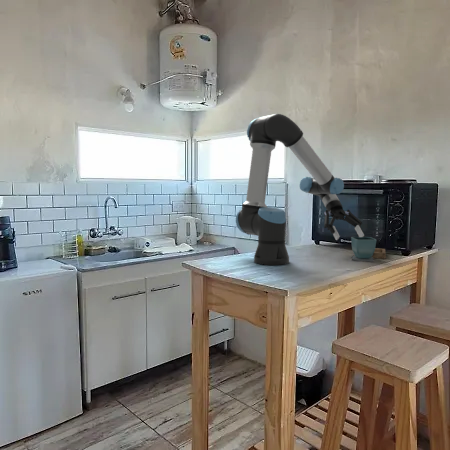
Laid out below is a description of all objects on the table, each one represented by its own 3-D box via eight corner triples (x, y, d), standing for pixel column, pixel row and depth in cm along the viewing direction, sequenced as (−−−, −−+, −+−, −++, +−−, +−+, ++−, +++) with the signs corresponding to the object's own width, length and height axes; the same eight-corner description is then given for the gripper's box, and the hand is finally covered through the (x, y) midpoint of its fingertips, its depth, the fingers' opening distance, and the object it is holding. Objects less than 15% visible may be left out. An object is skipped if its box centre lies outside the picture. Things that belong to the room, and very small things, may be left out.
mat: (351, 260, 180) (351, 259, 180) (352, 256, 189) (352, 255, 189) (373, 261, 177) (373, 260, 177) (373, 258, 186) (373, 256, 186)
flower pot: (376, 259, 179) (377, 239, 178) (356, 259, 178) (357, 239, 178) (369, 256, 187) (369, 236, 186) (350, 256, 187) (350, 236, 186)
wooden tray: (354, 256, 189) (354, 251, 188) (355, 252, 201) (355, 247, 201) (385, 258, 184) (385, 253, 184) (384, 253, 197) (385, 248, 196)
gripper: (350, 208, 210) (368, 241, 197) (307, 209, 202) (324, 243, 189) (357, 198, 205) (376, 231, 192) (313, 199, 196) (330, 233, 184)
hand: (350, 237), depth 191 cm, fingers open, 13 cm apart
